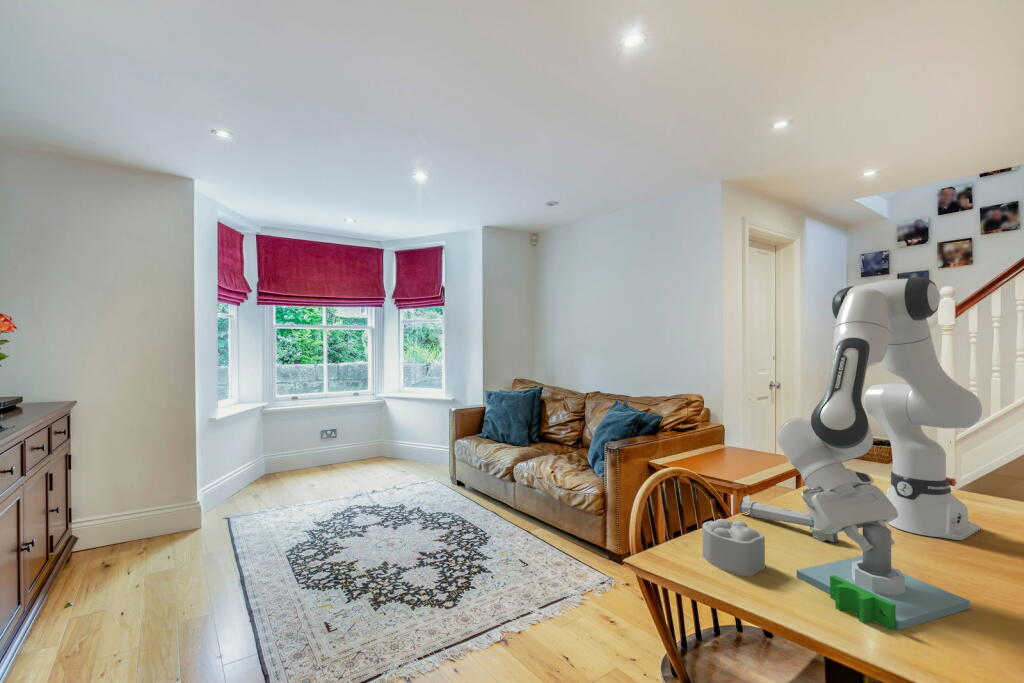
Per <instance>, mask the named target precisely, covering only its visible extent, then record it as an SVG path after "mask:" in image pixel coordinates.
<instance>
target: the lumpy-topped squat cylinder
mask: <svg viewBox="0 0 1024 683" xmlns="http://www.w3.org/2000/svg"><path fill="white" fill-rule="evenodd" d="M765 538H766V537H765V535H764V534H763V533H761V531H758V530H755V529H753V528H751V527H748V524H746V523H745V522H744V521H742V520H735V521H728V519H724V518H719V519H716V520H714V521H713V520H708V521H706V522H703V524H702V557H703V559H704V558H705V559H706V560H707V561H708V562H707V561H706V560H705V559H704V560H705V561H706V562H707V563H709V564H710V563H711V564H710V565H712V566H714V567H715V568H718V567H719V568H718V569H720V568H721V570H722V569H723V570H722V571H725V570H726V571H725V572H728V571H729V573H730V572H731V573H730V574H733V573H734V575H736V574H737V575H738V576H740V575H741V576H742V577H752V576H754V575H755V574H756V573H759V572H762V571H764V570H765V568H766V562H765V561H766V556H765V555H766V553H765V550H766V549H765V548H766V545H765V544H766V543H765V542H766V541H765ZM751 575H752V576H751ZM741 576H740V577H741Z"/></svg>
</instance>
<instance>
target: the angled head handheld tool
mask: <svg viewBox="0 0 1024 683" xmlns="http://www.w3.org/2000/svg"><path fill="white" fill-rule="evenodd" d="M738 508H739V513H740V514H741V513H745V512H747V513H749V514H748V515H750V516H749V517H752V518H753V517H755V518H758V519H763V520H764V519H765V520H771V521H776V522H783V523H789V524H795V525H801V526H806V527H809V530H810V531H811V533H812V537H813V539H817V541H822V542H825V541H829V542H831V543H834V542H838V541H839V537H838V534H839V533H840V532H836V533H830V534H825V533H824V532H822V531H821V530H820V529H819V528H818V526H817V525H816V523H815V522H814V520H813V518H812V517H811V515H810V513H807V512H806V513H805V512H801V511H796V510H791V509H787V508H784V507H783V508H782V507H777V506H773V505H767V504H763V503H758V502H757V501H755V500H754V501H747V500H743V501H740V504H739V506H738ZM749 510H750V511H749ZM748 511H749V512H748ZM747 513H745V514H747Z"/></svg>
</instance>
